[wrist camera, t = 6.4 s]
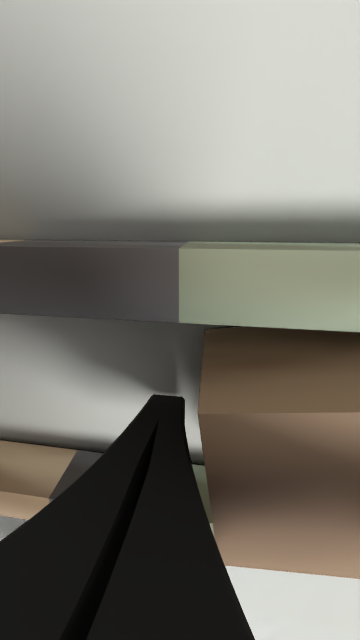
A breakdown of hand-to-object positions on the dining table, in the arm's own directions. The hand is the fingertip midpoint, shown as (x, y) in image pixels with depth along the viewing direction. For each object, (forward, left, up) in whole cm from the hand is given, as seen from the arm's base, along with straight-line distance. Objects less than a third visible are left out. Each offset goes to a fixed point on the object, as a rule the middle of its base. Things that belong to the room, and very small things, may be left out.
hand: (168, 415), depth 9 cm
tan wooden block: (+1, -5, -1) cm, 5 cm away
